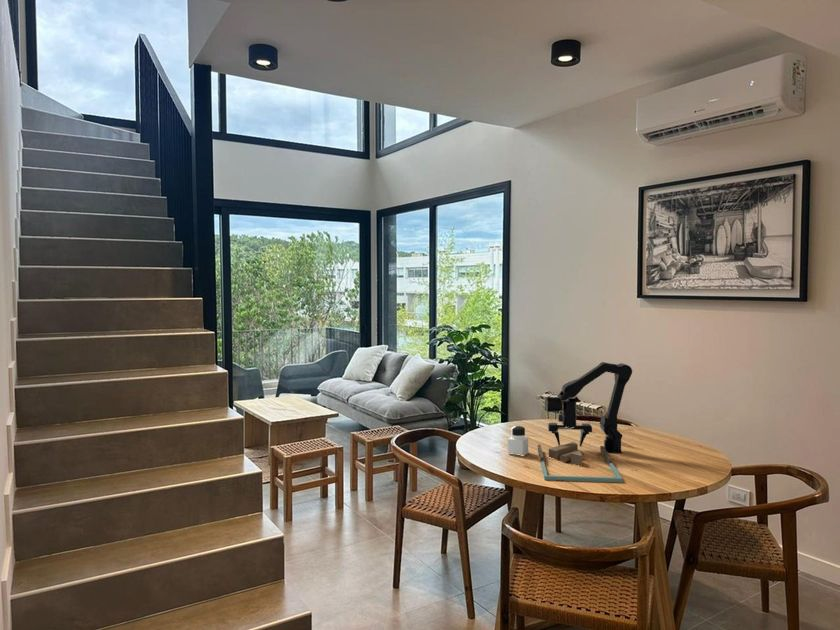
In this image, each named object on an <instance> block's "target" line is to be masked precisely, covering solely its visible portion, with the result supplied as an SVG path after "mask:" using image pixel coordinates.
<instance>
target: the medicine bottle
mask: <svg viewBox="0 0 840 630" xmlns="http://www.w3.org/2000/svg"><path fill="white" fill-rule="evenodd" d="M527 452H528V453H529V436H526V428H525V427H524V426H520V425H515V426H512V427H511V428H510V437H509V438H507V454H508V453H513V454H520V455H524V454H525V453H527ZM528 453H527V454H528ZM524 456H525V455H524Z"/></svg>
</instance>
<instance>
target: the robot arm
mask: <svg viewBox="0 0 840 630" xmlns="http://www.w3.org/2000/svg"><path fill="white" fill-rule="evenodd" d="M605 373H611V374H614V375H613V376H614V385H613V389H612V392H611V396H610V400H609V403H608V408H607V412H606V414H605V415H602V414H601V415H600V420H599V423H598V424H599V425H600V426H599V428H600V429H601V431H603V433H604V435H605V436H604V440H603V446H604V448H605V449H606V451H607V452H608V454H610V453H611V454H612V453H614V454H615V453H616V454H617V453H619V454H622V453H623V451H622V439H623V434H622V433H621V431H619V430H618V414H619V410H620V406H621V402H622V398H623V395H624V391H625V387H626V385H627V384H628V382H629V381H630V379H631V376H632V374H633V369H632V367H631V366H630V365H628V364H625V363H622V362H621V363H617V364H616V363H611V362H605V361H602V362H600V363H599V364H598V365H596V366H594V367H593V368H592V369H591V370H589V371H587V372H586V373H585V374H583V375H582V376H579V378H576V379H574V380H571V381H568V382H566V383H564V384H563V385H562V386H561V391H560V392H559V394H558V395H557V396H546V400H545V410H546V411H545V412H546V413H560V412H561V411H562V414H558V422H559V423H560V422H561V423H562V424H558V422H548V424H547V429H548V432H551V434H553V435H554V436H555V438H556V441H557V446H560V445H561V442H560V434H559V430H570V431H572V430H574V431H575V430H577V431H578V430H579V431H580V437H579V447H580V448H581V447H582V446H583V443H584V440H585V438H586V437H587V435H590V433H592V432H593V426H592V425H591V423H583V422H582V423H580V424H581V425H578V424H577V403H581V402H582V401H581V400H580V398H579V397H578V396H577V395H578V394H579V393H580V392H581V391H582V390H583V389H584V387H586V386H587V385H588V384H590V383H591V382H593V381H595V380H596V379H597V378H599V377H602V375H604V374H605Z"/></svg>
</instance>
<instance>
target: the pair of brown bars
mask: <svg viewBox="0 0 840 630" xmlns="http://www.w3.org/2000/svg"><path fill="white" fill-rule="evenodd" d="M599 447H600V452H601V453H600V454H601V456H602V457H604V458H603V459H604V461H605V462H606V464H607V465H608V466H609V463H613V459H612V457H611V455H610V453H608V452H607V451H606V449H605V448H604V445H600V446H599ZM537 453H539V454H538V458H539V457H540V459H539V463H540V462H541V461H543V462H544V463H545V457H544V454H543V448H542V445H541V444H537Z"/></svg>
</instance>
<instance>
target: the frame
mask: <svg viewBox="0 0 840 630" xmlns="http://www.w3.org/2000/svg"><path fill="white" fill-rule="evenodd" d="M540 466H542V467H541V471H542V474H543V475H544V476H543V479H544V481H556V480H564V482H591V483H592V482H594V483H596V482H597V483H598V482H599V483H622V484H623V477H622V475H621V474H620V473H619V471H618V469H617V468H616V467H615V465H614V464H613V462H612V463H609V465H608V467H609V468H610V470H611V472H612V473H613V475H614V477H612V476H580V475H579V476H578V475H551V474H550V475H548V472H547V468H546V464H545V461H544V462H543V461H541V463H540Z"/></svg>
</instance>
